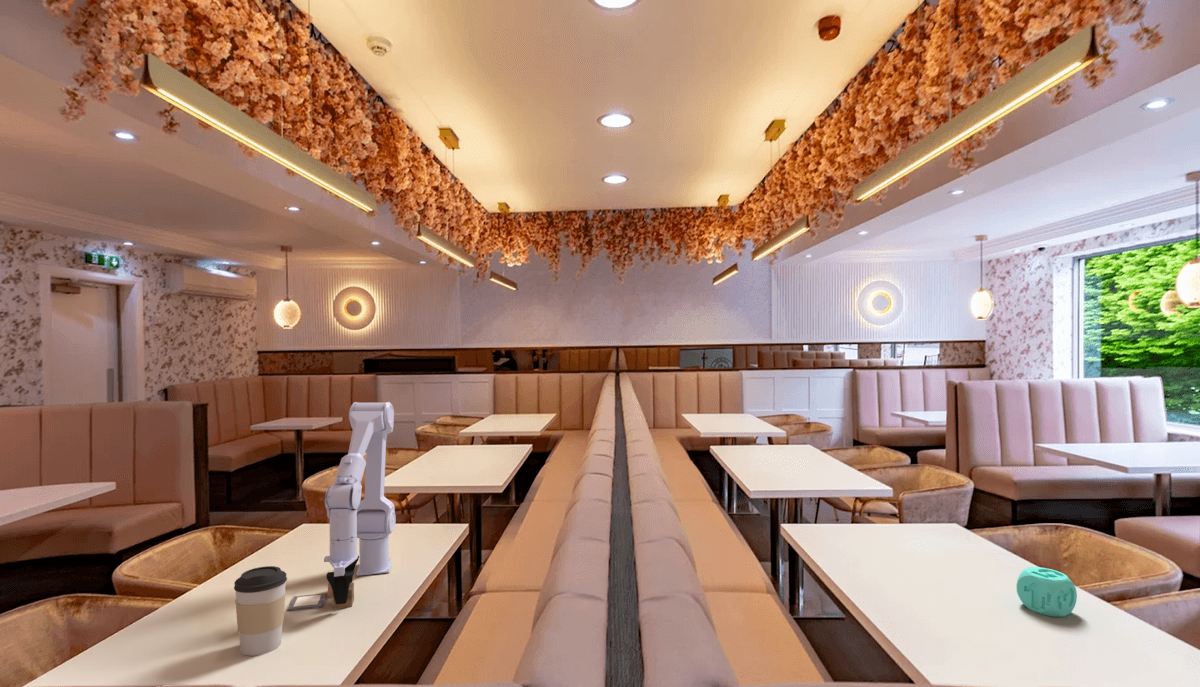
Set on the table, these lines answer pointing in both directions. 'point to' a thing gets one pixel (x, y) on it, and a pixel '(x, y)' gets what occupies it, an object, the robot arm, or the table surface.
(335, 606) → the walnut block
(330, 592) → the terracotta block
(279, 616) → the coffee cup
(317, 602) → the mat
